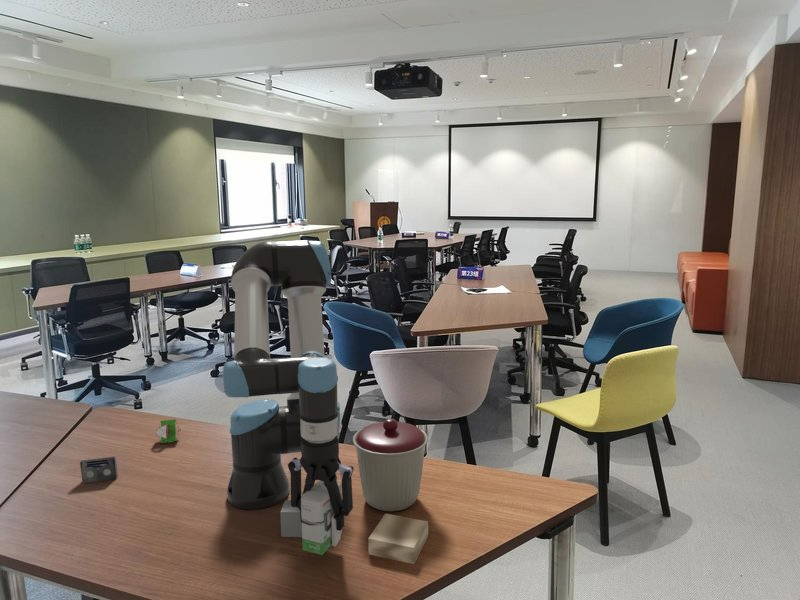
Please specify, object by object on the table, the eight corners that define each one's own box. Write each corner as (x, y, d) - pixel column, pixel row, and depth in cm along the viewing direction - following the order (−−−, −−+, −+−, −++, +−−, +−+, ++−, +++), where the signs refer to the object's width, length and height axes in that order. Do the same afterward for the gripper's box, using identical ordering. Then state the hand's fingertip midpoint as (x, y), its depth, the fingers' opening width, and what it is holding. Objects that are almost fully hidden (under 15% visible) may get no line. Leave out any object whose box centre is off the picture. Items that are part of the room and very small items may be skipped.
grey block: (281, 537, 125) (280, 512, 124) (286, 524, 130) (285, 500, 129) (304, 537, 125) (303, 512, 124) (308, 524, 130) (307, 500, 129)
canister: (338, 503, 139) (336, 421, 135) (387, 475, 152) (386, 400, 148) (395, 530, 127) (394, 441, 123) (442, 497, 141) (443, 417, 137)
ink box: (322, 556, 113) (320, 502, 111) (301, 550, 115) (299, 497, 113) (343, 532, 121) (342, 481, 118) (323, 527, 123) (321, 477, 120)
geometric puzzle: (159, 428, 178) (155, 415, 173) (182, 426, 180) (179, 413, 174) (157, 449, 174) (153, 436, 168) (181, 446, 175) (177, 433, 170)
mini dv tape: (117, 476, 153) (115, 455, 151) (116, 479, 151) (114, 458, 150) (84, 480, 150) (81, 459, 149) (82, 483, 149) (80, 462, 148)
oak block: (368, 555, 119) (368, 538, 118) (385, 529, 128) (385, 513, 127) (414, 565, 115) (414, 547, 115) (428, 538, 125) (428, 521, 124)
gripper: (268, 438, 112) (274, 543, 117) (356, 450, 107) (358, 559, 112) (286, 423, 119) (290, 522, 124) (369, 433, 114) (370, 536, 119)
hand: (322, 539), depth 118 cm, fingers closed on ink box, 5 cm apart
